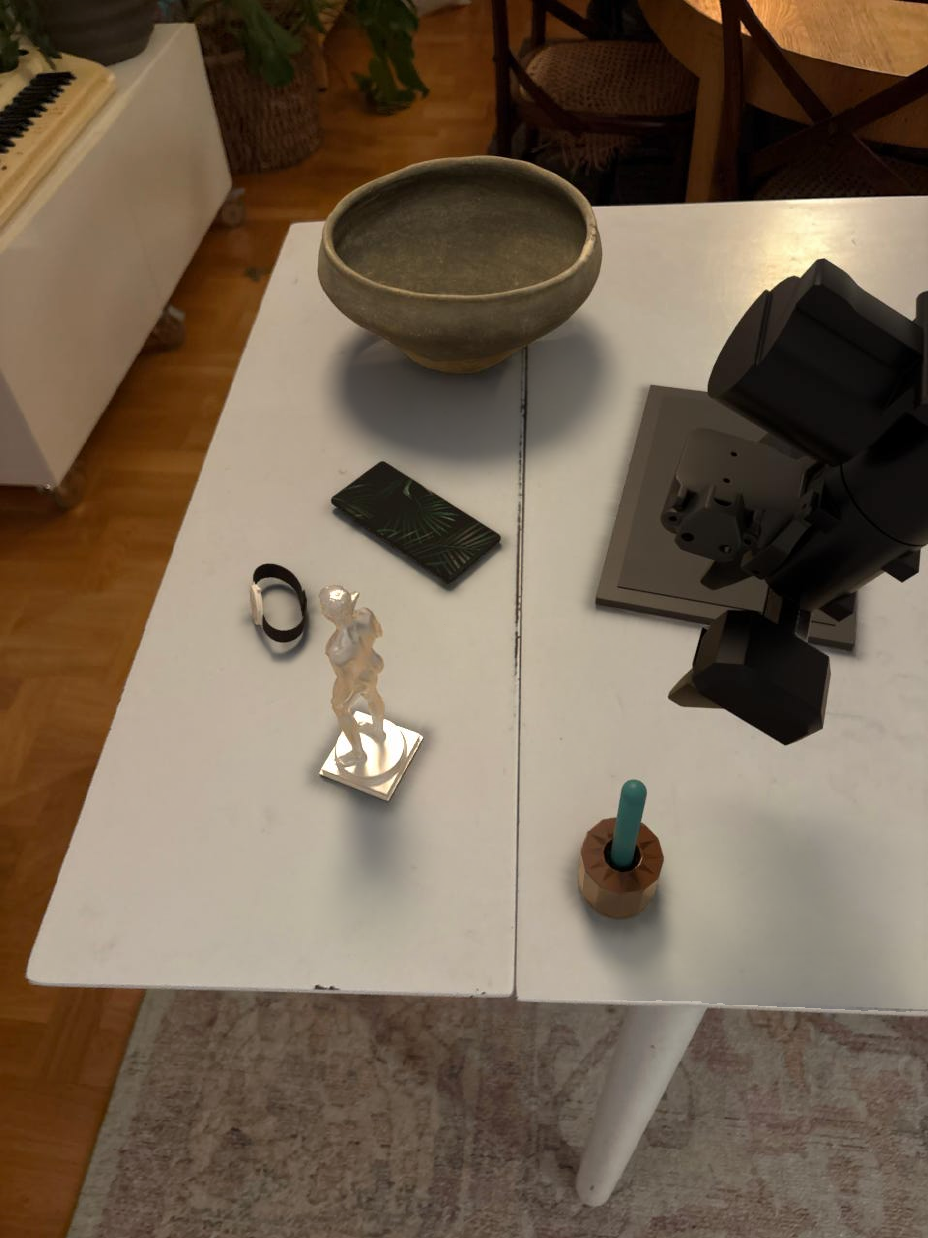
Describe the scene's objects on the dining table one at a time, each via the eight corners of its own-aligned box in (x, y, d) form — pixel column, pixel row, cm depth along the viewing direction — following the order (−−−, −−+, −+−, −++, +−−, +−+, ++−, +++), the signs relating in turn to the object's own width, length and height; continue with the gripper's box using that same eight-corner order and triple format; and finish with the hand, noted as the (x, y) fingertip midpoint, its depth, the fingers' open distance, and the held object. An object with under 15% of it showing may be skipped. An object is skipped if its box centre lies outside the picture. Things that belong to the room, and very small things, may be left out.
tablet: (649, 391, 90) (650, 383, 90) (860, 418, 86) (863, 410, 85) (594, 604, 74) (595, 596, 73) (851, 651, 70) (855, 643, 69)
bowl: (314, 425, 90) (283, 299, 79) (356, 271, 107) (336, 149, 96) (597, 427, 88) (607, 297, 76) (595, 269, 104) (603, 143, 93)
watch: (245, 587, 78) (234, 559, 75) (298, 572, 78) (289, 543, 76) (263, 656, 73) (252, 628, 70) (320, 638, 74) (311, 610, 71)
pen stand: (644, 841, 61) (651, 811, 58) (664, 913, 58) (672, 886, 55) (571, 852, 61) (574, 823, 58) (587, 925, 58) (591, 899, 55)
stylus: (625, 867, 60) (644, 773, 50) (630, 887, 59) (651, 796, 49) (604, 870, 60) (619, 776, 50) (609, 891, 59) (625, 799, 49)
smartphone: (448, 581, 75) (328, 498, 82) (449, 588, 76) (330, 506, 83) (503, 534, 78) (382, 458, 85) (503, 542, 79) (383, 466, 86)
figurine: (372, 685, 71) (332, 524, 56) (446, 723, 68) (423, 564, 54) (306, 767, 67) (245, 615, 52) (381, 811, 64) (339, 664, 50)
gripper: (778, 290, 46) (618, 469, 59) (707, 541, 35) (529, 695, 48) (950, 407, 48) (757, 558, 60) (933, 683, 37) (702, 796, 49)
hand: (691, 639), depth 54 cm, fingers open, 9 cm apart
